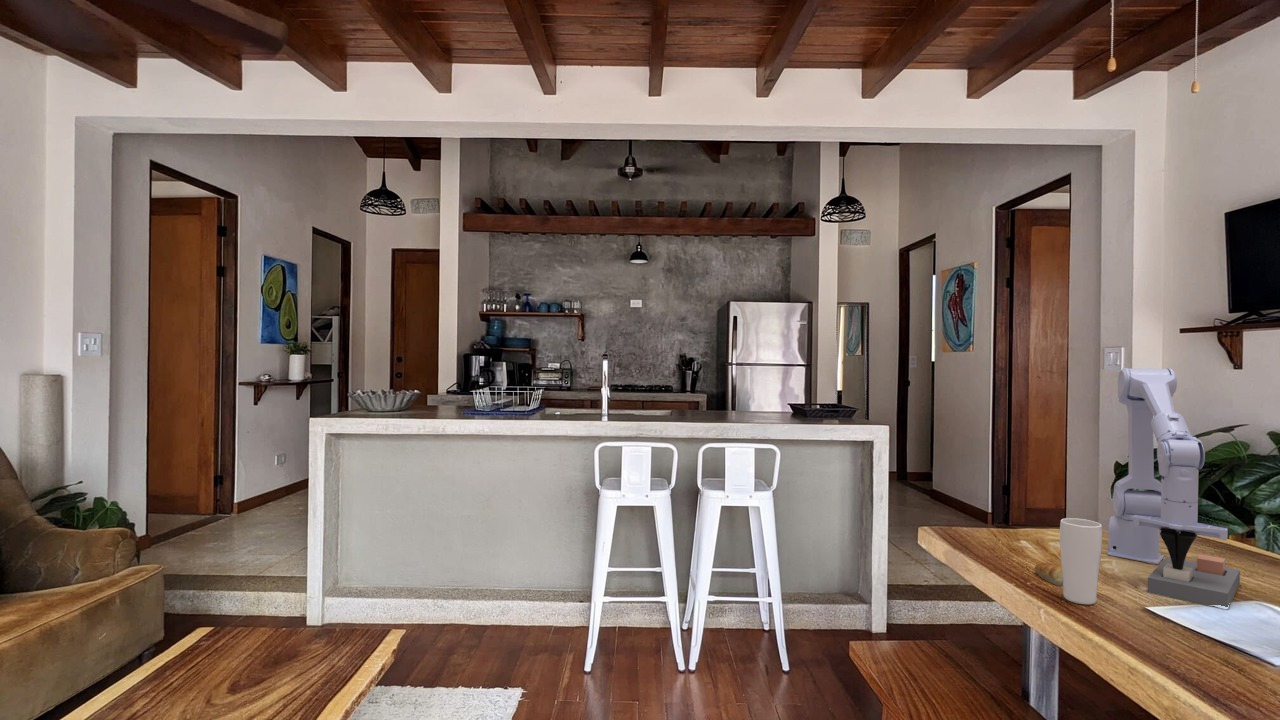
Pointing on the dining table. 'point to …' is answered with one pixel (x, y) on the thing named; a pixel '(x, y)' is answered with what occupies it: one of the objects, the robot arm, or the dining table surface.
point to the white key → (1177, 573)
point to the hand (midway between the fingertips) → (1177, 568)
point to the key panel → (1196, 585)
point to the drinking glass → (1080, 559)
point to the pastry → (1050, 572)
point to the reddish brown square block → (1211, 564)
